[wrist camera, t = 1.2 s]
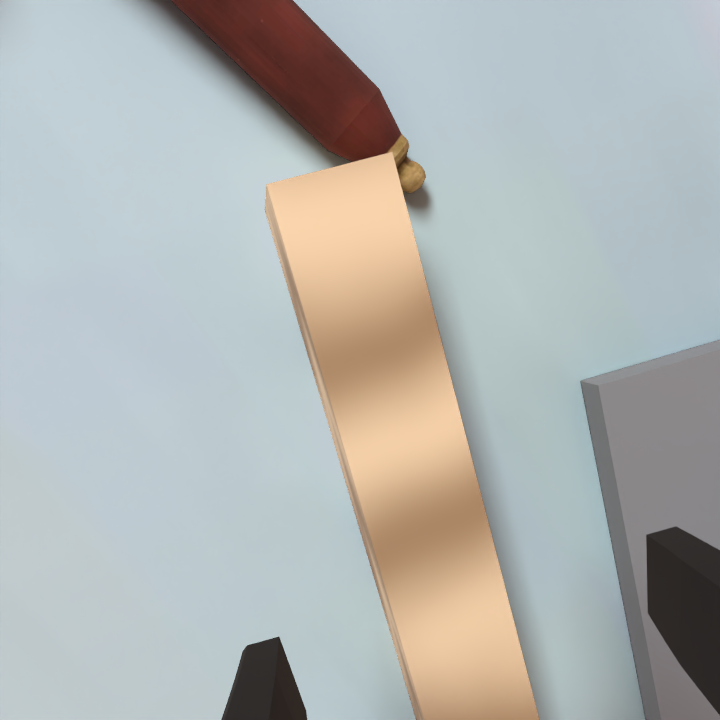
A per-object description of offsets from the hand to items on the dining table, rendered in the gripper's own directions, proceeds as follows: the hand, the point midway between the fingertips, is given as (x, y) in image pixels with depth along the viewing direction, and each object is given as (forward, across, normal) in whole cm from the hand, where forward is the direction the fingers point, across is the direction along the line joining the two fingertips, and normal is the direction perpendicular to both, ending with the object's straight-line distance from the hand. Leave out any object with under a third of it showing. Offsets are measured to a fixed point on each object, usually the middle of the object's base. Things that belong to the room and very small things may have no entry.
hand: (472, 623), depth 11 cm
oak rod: (+10, 0, +4) cm, 11 cm away
